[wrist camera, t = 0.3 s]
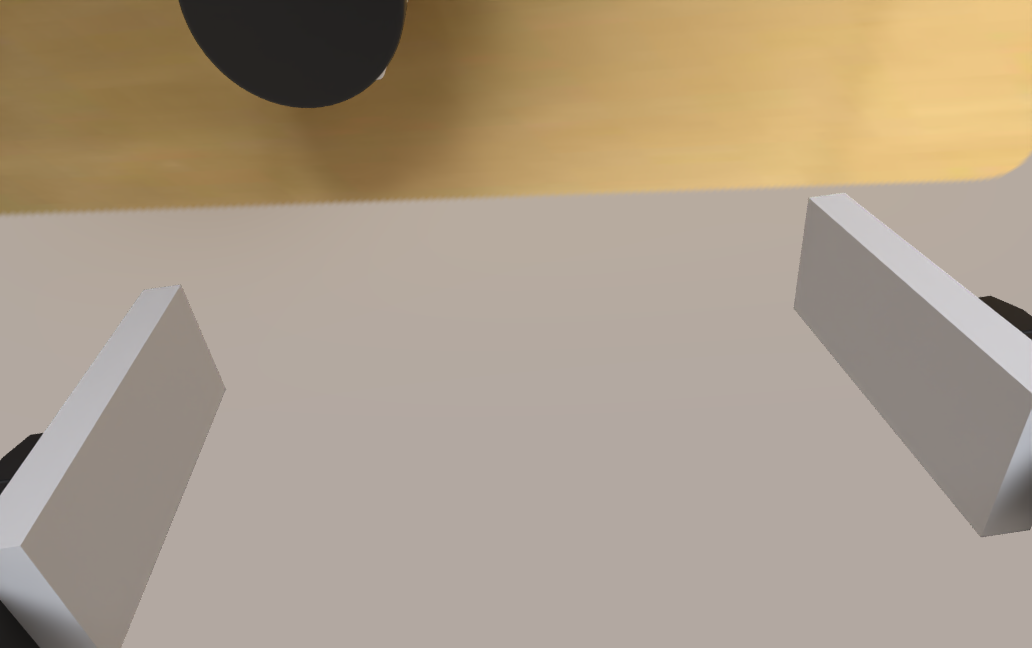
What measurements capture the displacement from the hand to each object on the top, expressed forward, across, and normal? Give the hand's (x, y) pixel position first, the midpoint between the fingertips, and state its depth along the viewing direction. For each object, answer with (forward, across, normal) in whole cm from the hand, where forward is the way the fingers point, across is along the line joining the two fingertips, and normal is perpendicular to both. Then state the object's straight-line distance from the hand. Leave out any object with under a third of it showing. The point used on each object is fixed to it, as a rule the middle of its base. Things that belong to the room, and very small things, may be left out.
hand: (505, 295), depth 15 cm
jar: (+28, -6, +4) cm, 29 cm away
